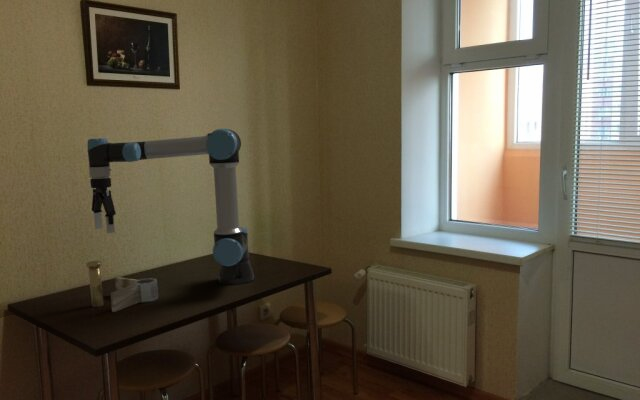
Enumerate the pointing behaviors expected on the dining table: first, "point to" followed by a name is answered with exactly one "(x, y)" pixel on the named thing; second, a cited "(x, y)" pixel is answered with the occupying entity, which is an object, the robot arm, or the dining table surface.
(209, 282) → the dining table surface
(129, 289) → the hinge leaves
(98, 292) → the hinge pin
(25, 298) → the dining table surface
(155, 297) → the knuckle barrel
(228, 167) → the robot arm
